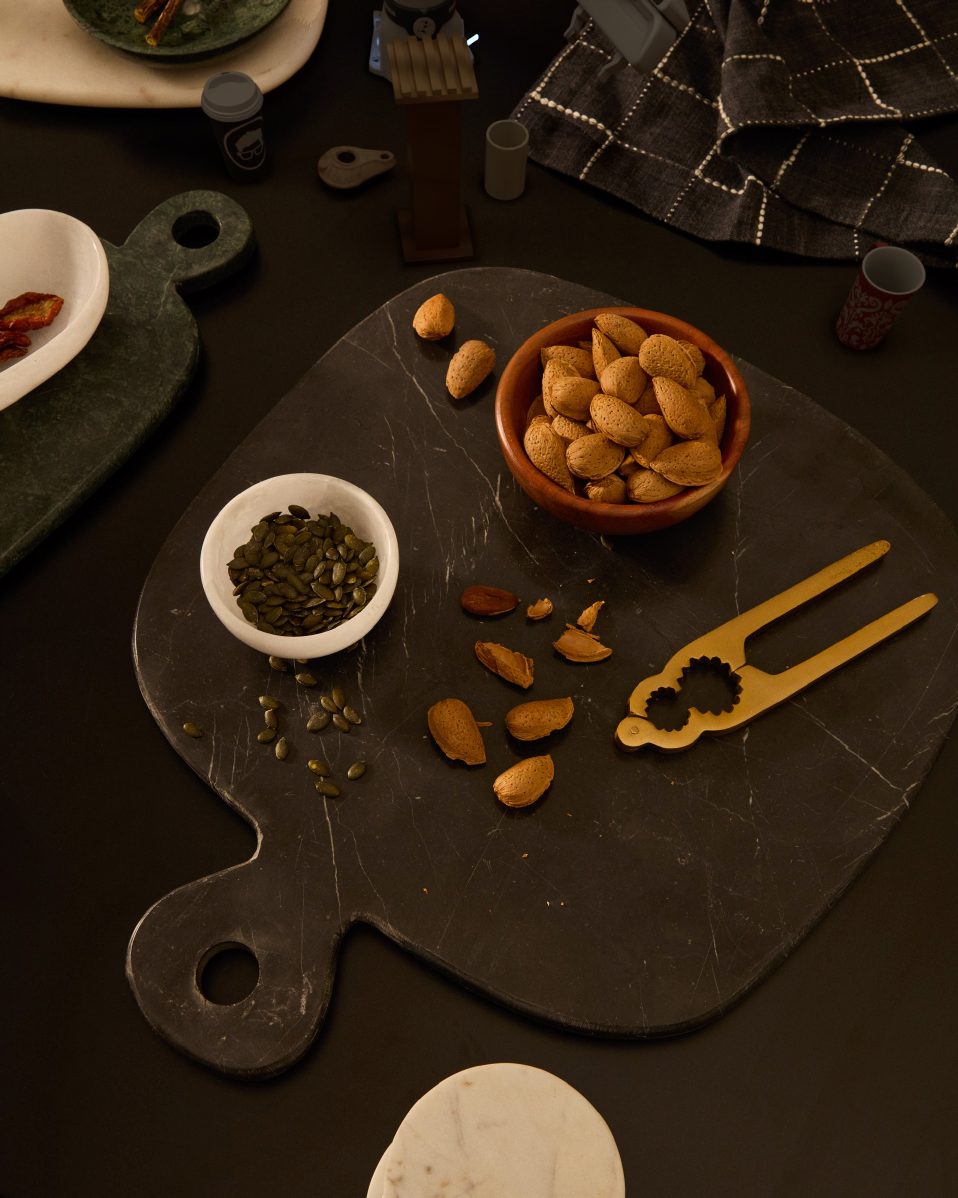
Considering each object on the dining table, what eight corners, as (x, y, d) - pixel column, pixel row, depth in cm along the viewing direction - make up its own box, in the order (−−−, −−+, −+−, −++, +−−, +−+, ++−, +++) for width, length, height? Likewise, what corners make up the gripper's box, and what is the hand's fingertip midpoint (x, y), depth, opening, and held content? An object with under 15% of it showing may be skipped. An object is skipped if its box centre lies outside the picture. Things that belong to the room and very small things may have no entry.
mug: (890, 357, 149) (929, 295, 137) (831, 353, 149) (865, 291, 137) (882, 294, 155) (918, 229, 142) (825, 290, 155) (857, 224, 143)
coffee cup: (281, 151, 165) (266, 69, 151) (270, 192, 161) (254, 112, 147) (225, 146, 165) (205, 64, 151) (213, 186, 161) (191, 106, 147)
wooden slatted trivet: (386, 49, 133) (385, 37, 131) (466, 43, 134) (466, 31, 132) (395, 104, 128) (395, 92, 127) (478, 98, 129) (478, 86, 128)
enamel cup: (481, 172, 164) (483, 121, 155) (520, 169, 164) (524, 117, 155) (487, 201, 161) (489, 151, 152) (527, 198, 162) (532, 147, 152)
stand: (397, 215, 159) (386, 46, 132) (463, 209, 160) (466, 40, 133) (405, 266, 155) (395, 101, 128) (473, 259, 156) (478, 94, 129)
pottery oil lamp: (402, 189, 161) (387, 169, 154) (336, 210, 164) (318, 192, 157) (393, 138, 162) (378, 117, 155) (327, 160, 165) (309, 140, 158)
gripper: (602, -75, 142) (538, 8, 149) (676, 7, 135) (605, 91, 142) (624, -51, 147) (561, 28, 154) (696, 29, 140) (626, 109, 147)
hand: (582, 59), depth 148 cm, fingers open, 8 cm apart
